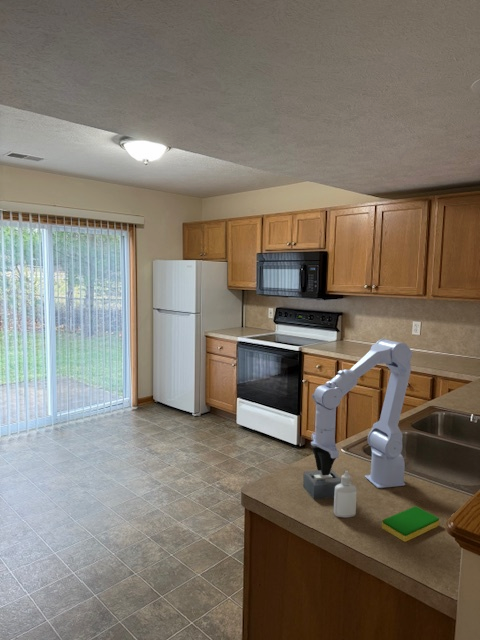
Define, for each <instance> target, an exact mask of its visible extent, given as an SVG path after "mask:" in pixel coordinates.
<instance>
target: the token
mask: <svg viewBox="0 0 480 640" xmlns="http://www.w3.org/2000/svg"><path fill="white" fill-rule="evenodd" d="M329 478H332V476H331V475H330V474H329V475H322V474H320V475H314V480H319V479H329Z"/></svg>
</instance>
